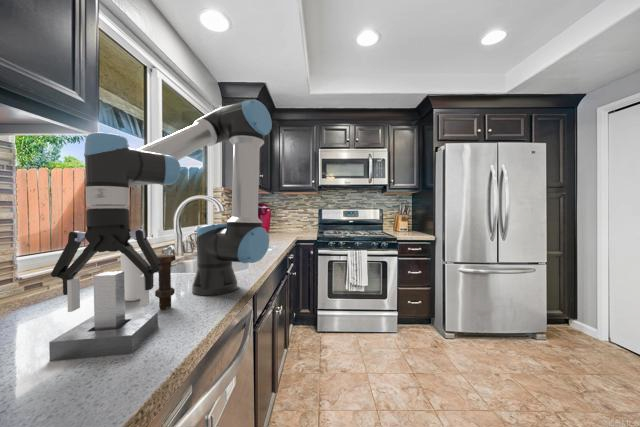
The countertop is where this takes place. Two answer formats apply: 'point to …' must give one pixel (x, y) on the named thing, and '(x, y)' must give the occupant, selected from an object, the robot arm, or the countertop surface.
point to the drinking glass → (131, 277)
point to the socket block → (103, 338)
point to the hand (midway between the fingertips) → (110, 307)
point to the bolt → (165, 282)
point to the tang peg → (109, 301)
